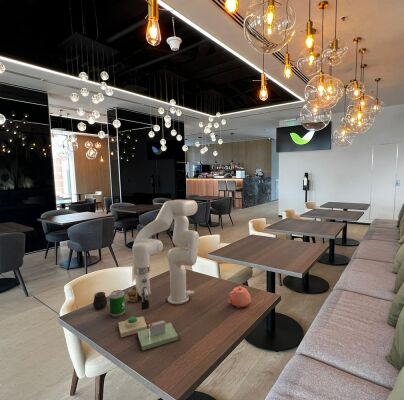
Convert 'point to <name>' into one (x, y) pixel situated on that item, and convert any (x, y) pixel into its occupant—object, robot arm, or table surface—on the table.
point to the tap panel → (157, 337)
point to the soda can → (117, 303)
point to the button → (132, 319)
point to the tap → (156, 328)
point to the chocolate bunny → (133, 294)
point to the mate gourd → (100, 300)
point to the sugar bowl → (239, 297)
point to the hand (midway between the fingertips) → (143, 304)
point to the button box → (132, 326)
